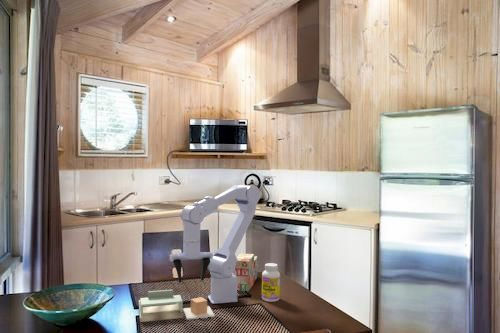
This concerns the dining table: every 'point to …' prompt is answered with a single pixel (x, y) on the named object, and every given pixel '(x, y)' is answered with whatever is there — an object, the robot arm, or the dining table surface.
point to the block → (198, 306)
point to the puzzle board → (160, 312)
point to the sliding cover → (161, 299)
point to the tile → (191, 315)
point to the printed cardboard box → (246, 271)
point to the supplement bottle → (271, 283)
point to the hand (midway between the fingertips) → (191, 280)
